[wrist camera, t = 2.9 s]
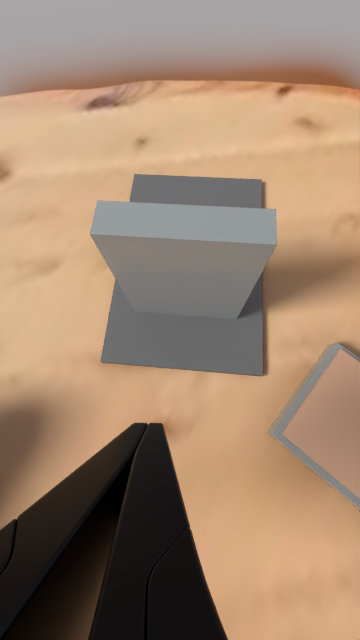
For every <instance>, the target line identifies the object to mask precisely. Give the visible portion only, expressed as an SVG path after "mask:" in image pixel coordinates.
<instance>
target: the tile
mask: <svg viewBox="0 0 360 640" xmlns="http://www.w3.org/2000/svg"><path fill="white" fill-rule="evenodd" d="M90 235H91V237H92V239H93V240H94V242H95V244H96V245H97V247H98V249H99V251H100V252H101V254H102V256H103V258H104V259H105V261H106V263H107V265H108V266H109V268H110V270H111V272H112V273H113V275H114V277H115V278H116V280H117V282H118V284H119V285H120V287H121V289H122V291H123V292H124V294H125V296H126V298H127V299H128V301H129V303H130V305H131V306H132V308H133V310H134V312H144V313H157V314H171V315H184V316H198V317H212V318H225V319H237V317H238V316H239V314H240V312H241V310H242V308H243V306H244V304H245V303H246V301H247V299H248V297H249V295H250V293H251V292H252V290H253V288H254V286H255V284H256V282H257V280H258V279H259V277H260V275H261V273H262V271H263V269H264V267H265V266H266V264H267V262H268V260H269V258H270V256H271V255H272V253H273V251H274V249H275V247H276V245H277V231H276V209H260V208H240V207H220V206H199V205H179V204H159V203H138V202H118V201H97V205H96V209H95V214H94V218H93V223H92V227H91V231H90Z"/></svg>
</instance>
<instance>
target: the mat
mask: <svg viewBox="0 0 360 640" xmlns="http://www.w3.org/2000/svg"><path fill="white" fill-rule="evenodd" d="M130 202H138V203H159V204H179V205H199V206H220V207H240V208H260V209H262V180H258V179H235V178H211V177H188V176H165V175H141V174H134V180H133V185H132V191H131V196H130ZM101 362H102V363H113V364H124V365H136V366H148V367H159V368H171V369H183V370H194V371H206V372H218V373H229V374H241V375H253V376H263V299H262V273H261V275H260V277H259V279H258V280H257V282H256V284H255V286H254V288H253V290H252V292H251V293H250V295H249V297H248V299H247V301H246V303H245V304H244V306H243V308H242V310H241V312H240V314H239V316H238V317H237V319H225V318H212V317H198V316H184V315H171V314H157V313H144V312H134V310H133V308H132V306H131V305H130V303H129V301H128V299H127V298H126V296H125V294H124V292H123V291H122V289H121V287H120V285H119V284H118V282H117V280H116V279H115V285H114V290H113V296H112V301H111V307H110V312H109V318H108V324H107V329H106V335H105V340H104V346H103V351H102V357H101Z"/></svg>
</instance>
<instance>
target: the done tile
mask: <svg viewBox="0 0 360 640" xmlns="http://www.w3.org/2000/svg"><path fill="white" fill-rule="evenodd" d="M267 433H268V434H269V435H270V436H271V437H273V438H274V439H275V440H276V441H277V442H278V443H280V444H281V445H282V446H283V447H284V448H286V449H287V450H288V451H289V452H290V453H291V454H293V455H294V456H295V457H296V458H297V459H299V460H300V461H301V462H302V463H303V464H305V465H306V466H307V467H308V468H309V469H310V470H312V471H313V472H314V473H315V474H316V475H318V476H319V477H320V478H321V479H322V480H323V481H325V482H326V483H327V484H328V485H329V486H331V487H332V488H333V489H334V490H335V491H336V492H338V493H339V494H340V495H341V496H342V497H344V498H345V499H346V500H347V501H348V502H350V503H351V504H352V505H353V506H354V507H355V508H357V509H358V510H359V511H360V358H359V357H357V356H356V355H354V354H353V353H352V352H350V351H349V350H347V349H346V348H345V347H343V346H342V345H340V344H339V343H337V342H335V343H333V344H331V345H328V346H327V347H326V349H325V350H324V352H323V353H322V354H321V356H320V357H319V359H318V360H317V361H316V363H315V364H314V366H313V367H312V369H311V370H310V371H309V373H308V374H307V376H306V377H305V379H304V380H303V381H302V383H301V384H300V386H299V387H298V388H297V390H296V391H295V393H294V394H293V396H292V397H291V398H290V400H289V401H288V403H287V404H286V406H285V407H284V408H283V410H282V411H281V413H280V414H279V415H278V417H277V418H276V420H275V421H274V423H273V424H272V425H271V427H270V428H269V430H268V431H267Z"/></svg>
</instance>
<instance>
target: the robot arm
mask: <svg viewBox="0 0 360 640" xmlns="http://www.w3.org/2000/svg"><path fill="white" fill-rule="evenodd" d="M0 640H228V638H227V636H226V633H225V631H224V628H223V626H222V623H221V621H220V618H219V615H218V612H217V610H216V607H215V604H214V602H213V599H212V596H211V593H210V591H209V588H208V585H207V583H206V580H205V576H204V573H203V570H202V566H201V563H200V560H199V556H198V553H197V550H196V546H195V542H194V538H193V535H192V531H191V529H190V524H189V521H188V517H187V513H186V509H185V506H184V502H183V498H182V494H181V490H180V487H179V483H178V479H177V475H176V472H175V468H174V464H173V460H172V456H171V453H170V449H169V445H168V441H167V437H166V434H165V430H164V426H163V424H162V423H150V424H147V423H134V424H132V425H131V426H130V427H128V428H127V429H126V430H125V431H123V432H122V433H121V434H120V435H118V436H117V437H116V438H115V439H114V440H112V441H111V442H110V443H109V444H107V445H106V446H105V447H104V448H102V449H101V450H100V451H99V452H97V453H96V454H95V455H94V456H92V457H91V458H90V459H89V460H87V461H86V462H85V463H84V464H82V465H81V466H80V467H79V468H78V469H76V470H75V471H74V472H73V473H71V474H70V475H69V476H68V477H66V478H65V479H64V480H63V481H61V482H60V483H59V484H58V485H56V486H55V487H54V488H53V489H51V490H50V491H49V492H48V493H46V494H45V495H44V496H43V497H42V498H40V499H39V500H38V501H37V502H35V503H34V504H33V505H32V506H30V507H29V508H28V509H27V510H25V511H24V512H23V513H22V514H20V515H19V516H18V518H17V519H13V520H12V521H11V522H10V523H8V524H7V525H6V526H5V527H3V528H2V529H1V530H0Z"/></svg>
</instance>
